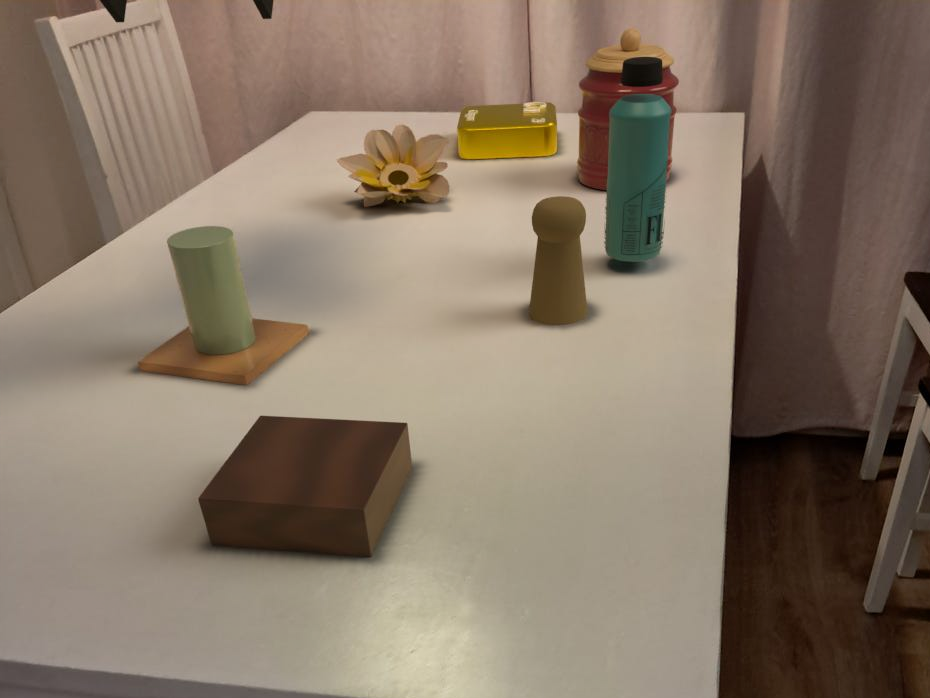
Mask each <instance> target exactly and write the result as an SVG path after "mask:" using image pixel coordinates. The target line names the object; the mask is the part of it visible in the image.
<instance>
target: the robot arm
mask: <svg viewBox="0 0 930 698" xmlns="http://www.w3.org/2000/svg"><path fill="white" fill-rule="evenodd" d="M252 1H253V4H254V5H255V7H256V9H257V10H258V13H259V14H260V17H261V18H262V19H263V20H272V18H273V9H274V2H275V1H274V0H252ZM99 2H100V3H101V5H103V7H104V8H105V10H106V11H107V12H108V14H109V15H110V16H111V18H112V19H113V20H114V21H115V23H125V20H126V9H127V3H128V0H99Z"/></svg>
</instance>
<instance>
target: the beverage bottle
mask: <svg viewBox="0 0 930 698" xmlns="http://www.w3.org/2000/svg"><path fill="white" fill-rule="evenodd" d="M662 81H663V74H662V60H661V59H660V58H656V57H634V58H629V59H626V60H625V61H624V62H623V67H622V75H621V84H622V85H624V86H629V87H649V86H655V85H659V84H661V83H662ZM670 115H671V108H670V106H669V105H668V104H667V102H666V101H665V100H664V99H663V98H662V97H661V96H659V95H654V94H632V95H626V96H623V97H621V98H620V99H619V100H618V101H617V102H616V103H615V104H614V105H613V107H612V108H611V109H610V112H609V117H610V125H609V155H608V175H607V176H608V178H607V190H606V191H605V192H606V196H605V197H606V198H605V201H604V203H605V204H604V205H605V207H604V209H605V210H604V215H605V221H604V224H605V225H604V226H603V227H604V233H603V234H604V235H603V238H604V240H603V244H604V250H605V253H606V255H607V256H608V257H609V258H611V259H614V260H617V261H621V262H643V261H648V260H652V259H654V258H656V257H658V256H659V255H660V253H661V250H662V248H663V246H662V245H663V244H664V241H663V240H664V234H665V229H664V224H665V222H666V221H665V219H664V218H665V211H666V209H665V208H666V206H665V204H666V202H667V200H666V199H667V197H666V196H667V195H666V191H667V181H666V175H667V165H669V164H667V161H668V145H669V143H668V141H669V126H670ZM669 150H670V148H669ZM605 186H606V185H605Z"/></svg>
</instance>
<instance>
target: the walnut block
mask: <svg viewBox="0 0 930 698" xmlns="http://www.w3.org/2000/svg"><path fill="white" fill-rule="evenodd" d="M412 470H413V460H412V452H411V442H410V433H409V425H408V422H400V421H399V422H396V421H379V420H378V421H377V420H359V419H358V420H357V419H339V418H338V419H337V418H317V417H295V416H278V415H277V416H276V415H259V416H258V417H257V419H256V420H255V422H254V423H253V424H252V426H251V427H250V428H249V430H248V431H247V432H246V434H245V435H244V436H243V438H242V439H241V440H240V442H239V443H238V444H237V446H236V447H235V448H234V450H233V451H232V452H231V454H230V455H229V456H228V458H227V459H226V461H224V463H223V464H222V466H221V467H220V468H219V470H218V471H217V472H216V474H215V475H214V476H213V478H212V479H211V481H210V482H209V483H208V485H206V487H205V489H204V490H203V491H202V493H200V495H199V497H198V498H197V500H198V504H199V507H200V510H201V511H200V512H201V514H202V517H203V521H204V524H205V527H206V531H207V534H208V538H209V541H210V544H211V546H222V547H233V548H246V549H261V550H275V551H289V552H299V553H311V554H312V553H314V554H326V555H329V554H330V555H339V556H340V555H341V556H350V557H351V556H352V557H366V558H371V557H372V556H373V554H374V552H375V550H376V547H377V545H378V544H379V541H380V539H381V537H382V535H383V533H384V531H385V528H386V526H387V524H388V522H389V519H390V517H391V515H392V513H393V512H394V511H393V510H394V508H395V507H396V504H397V502H398V500H399V498H400V496H401V494H402V491H403V489H404V487H405V485H406V483H407V480H408V478H409V476H410V474H411V472H412Z"/></svg>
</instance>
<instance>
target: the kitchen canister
mask: <svg viewBox="0 0 930 698" xmlns="http://www.w3.org/2000/svg"><path fill="white" fill-rule="evenodd" d="M619 40H620V41H619V42H620V44H617V45H616V44H615V45H610V46H605V47H602V48H599V49H597V51H596V52H595V54H593V55H592V56H591V57H588V59H587V60H586V61H585V66H586V68H588V72H587V74H586V75H585V76H584V77H582V78H581V80H579V81H578V87H579V89H580V90H581V92H582V99H581V107H580V108H579V109H578V111H577V115H578V118H579V121H578V123H579V124H578V129H579V130H578V156H577V161H576V164H577V166H576V170H577V174H578V180H579V182H580V183H581V184H583V185H584V186H587V187H589V188H591V189H592V188H593V189H597V190H603V191H607V178H608V176H607V175H608V155H609V125H610V117H609V112H610V109H611V108H612V107H613V105H614V104H615V103H616V102H617V101H618V100H619V99H620V98H621V97H623V96H626V95H632V94H654V95H659V96H661V97H662V98H663V99H664V100H665V101H666V102H667V104H668V105H669V106H670V108H671V115H670V126H669V141H668V143H669V145H668V161H667V164H669V165H667V175H666V182H667V181H668V180H669V178H670V173H671V171H672V166H673V165H672V163H673V156H672V153H673V143H674V142H673V140H674V131H675V130H674V129H675V128H674V127H675V117H676V114H677V111H678V110H677V107H676V105H674V104H675V102H674V96H675V95H674V94H675V89H676V88H677V86H678V85H679V83H680V80H679V78H678V76H676V75H675V74H674V73H672V70H671V67H672V65H673V64H674V62H675V58H674V57H672V56H671V55H670V54H669V53H667V52H666V51H665V50H664V48H663V47H662V46H658V45H653V44H641V43H642V36H641V34H640V32H639V30H637V29H636V28H628V29H627V28H626V29H625V30H624V31H623V32H622V34H621V36H620V39H619ZM634 57H656V58H660V59H661V60H662V74H663V81H662V83H661V84H659V85H655V86H649V87H629V86H624V85H622V84H621V75H622V67H623V62H624V61H625V60H626V59H629V58H634ZM669 148H670V150H669ZM605 185H606V186H605Z"/></svg>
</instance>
